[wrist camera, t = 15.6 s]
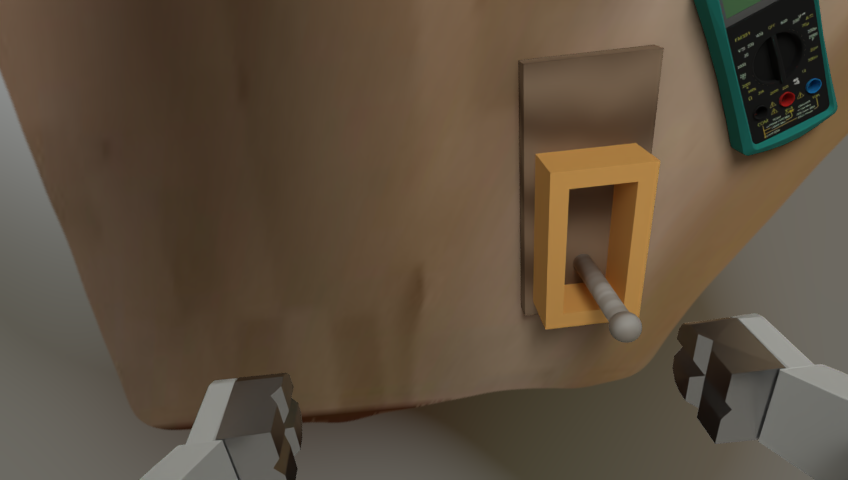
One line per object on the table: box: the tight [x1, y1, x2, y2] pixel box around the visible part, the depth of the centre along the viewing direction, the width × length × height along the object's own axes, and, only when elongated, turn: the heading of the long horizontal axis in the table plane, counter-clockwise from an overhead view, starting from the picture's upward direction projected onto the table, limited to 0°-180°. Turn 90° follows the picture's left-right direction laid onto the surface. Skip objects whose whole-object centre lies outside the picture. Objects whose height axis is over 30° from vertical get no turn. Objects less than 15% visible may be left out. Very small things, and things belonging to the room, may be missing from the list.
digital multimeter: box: [694, 0, 837, 156], centre depth 39 cm, size 7×15×3 cm, turn 29°
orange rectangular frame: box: [533, 143, 660, 330], centre depth 42 cm, size 14×8×4 cm, turn 5°
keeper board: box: [519, 45, 664, 342], centre depth 39 cm, size 22×10×12 cm, turn 6°
